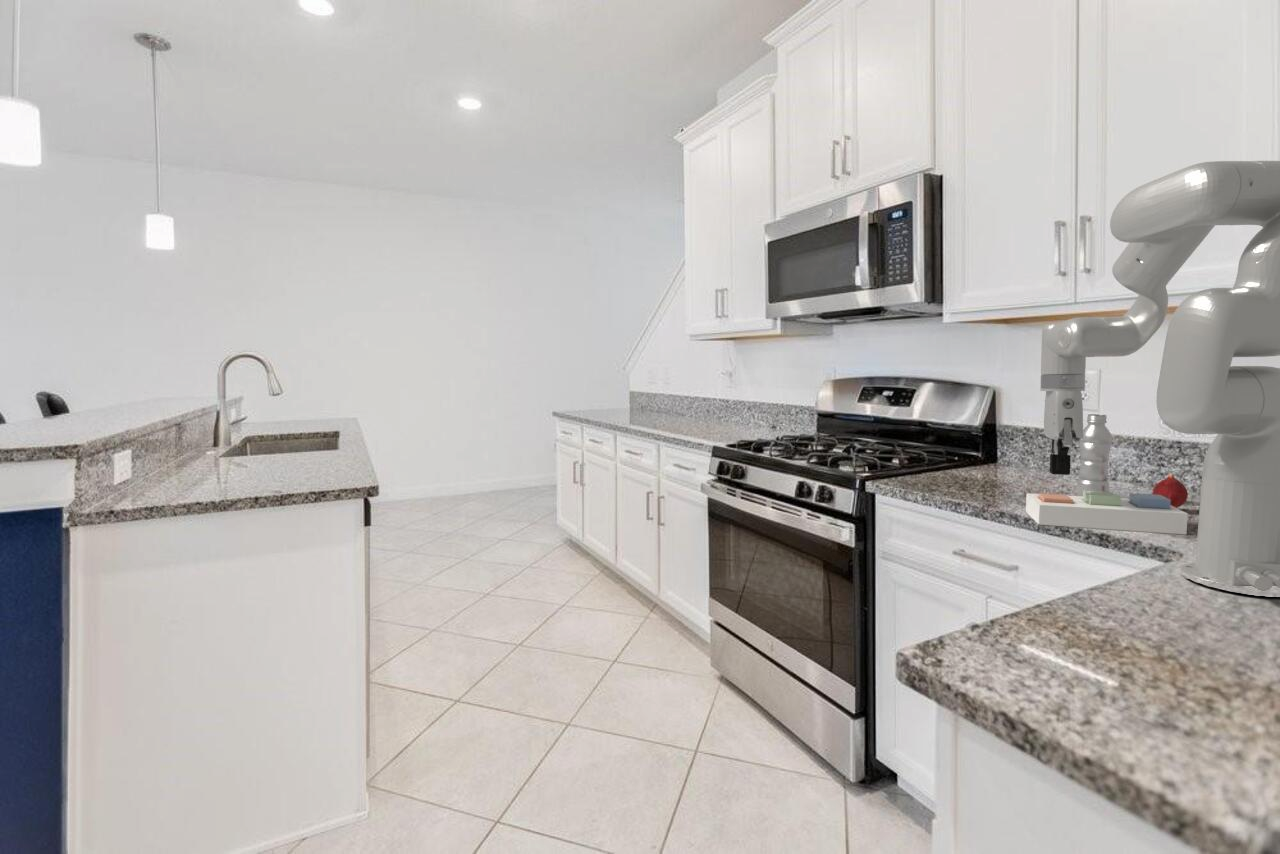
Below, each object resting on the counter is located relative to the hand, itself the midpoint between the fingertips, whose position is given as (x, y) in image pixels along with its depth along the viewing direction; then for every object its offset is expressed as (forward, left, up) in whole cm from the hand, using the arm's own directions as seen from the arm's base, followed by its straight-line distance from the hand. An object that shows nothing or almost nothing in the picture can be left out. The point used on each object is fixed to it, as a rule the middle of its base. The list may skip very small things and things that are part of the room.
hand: (1059, 473), depth 131 cm
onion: (+17, -25, -10) cm, 31 cm away
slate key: (+1, -16, -7) cm, 17 cm away
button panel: (+1, -8, -10) cm, 12 cm away
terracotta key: (+1, 0, -8) cm, 8 cm away
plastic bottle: (+25, -13, -10) cm, 30 cm away
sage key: (+1, -8, -7) cm, 10 cm away
